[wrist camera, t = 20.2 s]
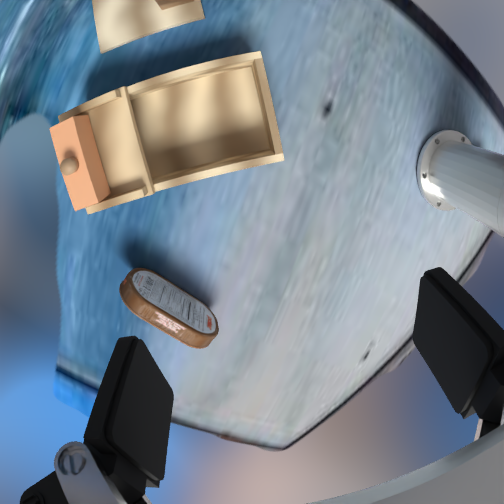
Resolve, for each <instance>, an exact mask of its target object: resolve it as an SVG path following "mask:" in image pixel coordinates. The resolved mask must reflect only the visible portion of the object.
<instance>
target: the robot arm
mask: <svg viewBox="0 0 504 504" xmlns="http://www.w3.org/2000/svg"><path fill="white" fill-rule="evenodd" d="M417 179H418V185H419V188H420V191H421V193H422V195H423V197H424V198H425V200H426V201H427V202H428V203H429V204H430V205H432V206H433V207H435V208H437V209H439V210H442V211H450V210H454V209H456V208H457V209H458V210H460V211H462V212H464V213H465V214H467V215H469V216H470V217H472V218H474V219H475V220H477V221H478V222H480V223H482V224H483V225H485V226H486V227H488V228H490V229H491V230H493V231H494V232H496V233H498V234H499V235H500V236H502V237H503V238H504V155H502V154H499V153H496V152H493V151H490V150H486V149H483V148H480V147H476V146H473V145H472V143H471V142H470V140H469V139H468V138H467V137H466V136H465V135H463V134H462V133H460V132H457V131H454V130H442V131H439V132H437V133H435V134H433V135H432V136H431V137H430V138H429V139H428V140H427V142H426V143H425V145H424V146H423V148H422V150H421V153H420V156H419V159H418V166H417ZM413 342H414V344H415V346H416V347H417V349H418V351H419V352H420V354H421V355H422V357H423V358H424V360H425V362H426V363H427V365H428V366H429V368H430V369H431V371H432V373H433V374H434V376H435V378H436V379H437V381H438V383H439V384H440V386H441V388H442V389H443V391H444V393H445V395H446V396H447V398H448V400H449V401H450V403H451V405H452V407H453V408H454V410H455V412H457V413H458V414H459V413H460V414H461V415H462V417H463V419H465V418H467V417H469V416H470V415H472V414H474V413H477V415H478V417H479V421H478V426H477V431H476V435H475V440H474V442H472V443H470V444H469V445H467V446H465V447H463V448H462V449H459V450H457V451H456V452H454V453H452V454H450V455H448V456H446V457H444V458H442V459H440V460H438V461H436V462H433V463H431V464H429V465H427V466H425V467H422V468H420V469H418V470H415V471H413V472H411V473H408V474H406V475H403V476H401V477H398V478H395V479H393V480H390V481H387V482H384V483H382V484H379V485H376V486H373V487H369V488H366V489H363V490H360V491H357V492H353V493H350V494H346V495H342V496H338V497H335V498H330V499H326V500H322V501H318V502H312V503H308V504H504V330H503V329H502V328H501V327H500V326H499V325H498V323H497V322H496V321H495V320H494V319H493V318H492V317H491V316H490V315H489V314H488V313H487V312H486V311H485V310H484V309H483V308H482V306H481V305H480V304H479V303H478V302H477V301H476V300H475V299H474V298H473V297H472V296H471V295H470V294H469V293H468V292H467V291H466V290H465V289H464V288H463V287H462V286H461V285H460V284H459V283H458V282H457V281H455V280H454V279H453V278H452V277H451V276H450V275H449V274H448V273H447V272H446V271H445V270H444V269H443V268H441V267H437V268H434V269H431V270H428V271H426V272H425V273H424V276H423V277H421V279H420V287H419V295H418V303H417V311H416V318H415V324H414V331H413ZM173 400H174V395H173V391H172V388H171V387H170V385H169V384H168V382H167V380H166V379H165V377H164V376H163V374H162V372H161V371H160V369H159V367H158V366H157V364H156V362H155V361H154V359H153V357H152V355H151V354H150V352H149V350H148V348H147V347H146V345H145V343H144V342H143V340H141V339H138V338H137V337H136V336H129V337H121V338H119V339H118V341H117V343H116V346H115V348H114V351H113V353H112V356H111V358H110V361H109V364H108V366H107V369H106V372H105V374H104V377H103V380H102V383H101V385H100V388H99V391H98V394H97V397H96V400H95V403H94V406H93V409H92V412H91V415H90V418H89V421H88V424H87V427H86V431H85V434H84V442H83V443H81V442H77V441H75V442H69V443H67V444H65V445H64V446H62V447H61V448H60V449H59V451H58V452H57V454H56V456H55V460H54V468H55V471H54V472H52V473H51V474H49V475H48V476H46V477H45V478H43V479H42V480H40V481H39V482H37V483H36V484H34V485H33V486H31V487H30V488H28V489H27V490H26V491H25V492H24V493H23V495H22V496H21V499H20V504H152V503H151V502H150V500H149V499H148V498H147V497H146V495H145V488H146V487H157V488H159V483H160V480H163V478H164V474H165V464H166V455H167V446H168V438H169V430H170V422H171V414H172V407H173Z"/></svg>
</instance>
